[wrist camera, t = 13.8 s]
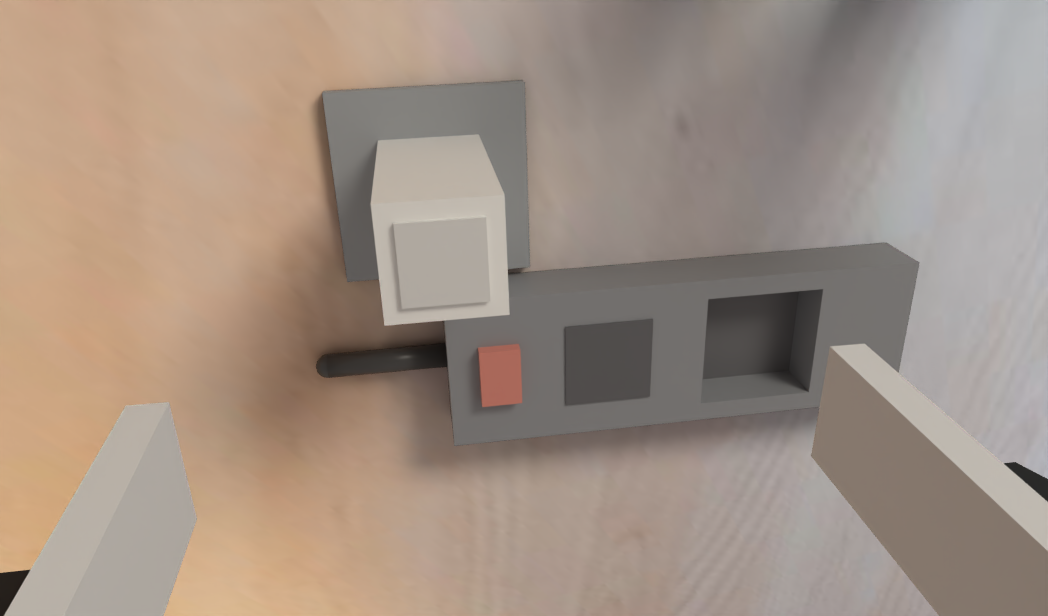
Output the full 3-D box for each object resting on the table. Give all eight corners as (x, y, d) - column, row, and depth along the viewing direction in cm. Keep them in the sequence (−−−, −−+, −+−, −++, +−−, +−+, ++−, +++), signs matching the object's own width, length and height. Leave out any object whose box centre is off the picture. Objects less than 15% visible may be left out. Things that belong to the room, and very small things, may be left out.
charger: (388, 236, 38) (384, 328, 29) (377, 140, 36) (370, 205, 27) (483, 228, 38) (510, 316, 29) (478, 134, 36) (505, 196, 27)
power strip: (327, 427, 42) (321, 466, 39) (306, 290, 39) (297, 321, 36) (864, 372, 46) (899, 404, 43) (886, 242, 43) (926, 267, 39)
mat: (348, 277, 39) (347, 282, 38) (323, 90, 35) (322, 93, 35) (528, 263, 40) (529, 267, 40) (522, 80, 36) (524, 82, 36)
